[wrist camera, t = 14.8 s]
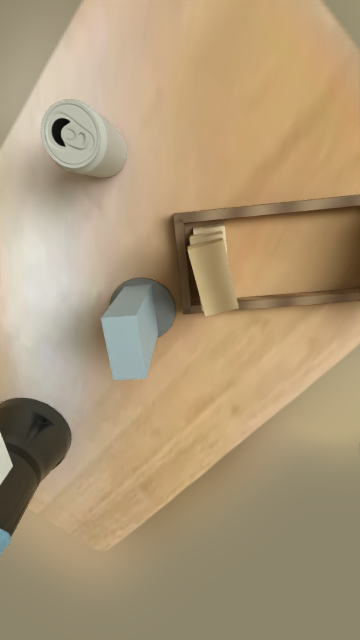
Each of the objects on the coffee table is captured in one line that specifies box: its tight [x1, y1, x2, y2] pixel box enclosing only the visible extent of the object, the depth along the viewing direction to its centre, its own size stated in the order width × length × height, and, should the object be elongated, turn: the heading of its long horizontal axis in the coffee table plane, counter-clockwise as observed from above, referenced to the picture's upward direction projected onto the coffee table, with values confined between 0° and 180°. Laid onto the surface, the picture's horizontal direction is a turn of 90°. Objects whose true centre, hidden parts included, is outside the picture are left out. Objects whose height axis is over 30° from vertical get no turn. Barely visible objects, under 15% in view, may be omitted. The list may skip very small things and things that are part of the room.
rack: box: [173, 195, 360, 314], centre depth 40 cm, size 28×14×10 cm, turn 96°
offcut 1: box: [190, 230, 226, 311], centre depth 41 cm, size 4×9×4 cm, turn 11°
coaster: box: [110, 278, 175, 338], centre depth 49 cm, size 10×10×1 cm
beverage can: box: [41, 99, 127, 177], centre depth 36 cm, size 6×6×12 cm
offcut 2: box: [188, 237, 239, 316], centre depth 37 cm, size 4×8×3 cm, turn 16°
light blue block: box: [101, 284, 158, 380], centre depth 43 cm, size 4×8×13 cm, turn 5°
